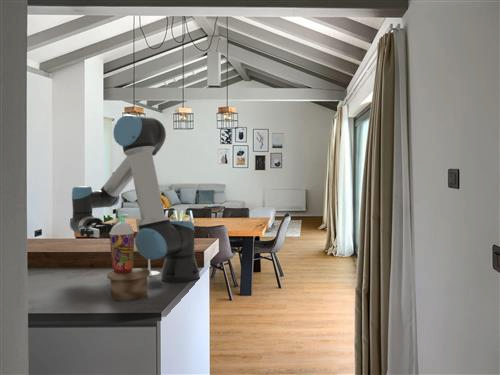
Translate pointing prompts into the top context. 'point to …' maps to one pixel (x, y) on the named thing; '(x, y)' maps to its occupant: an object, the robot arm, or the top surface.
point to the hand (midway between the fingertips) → (115, 231)
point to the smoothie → (122, 247)
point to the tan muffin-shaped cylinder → (129, 284)
